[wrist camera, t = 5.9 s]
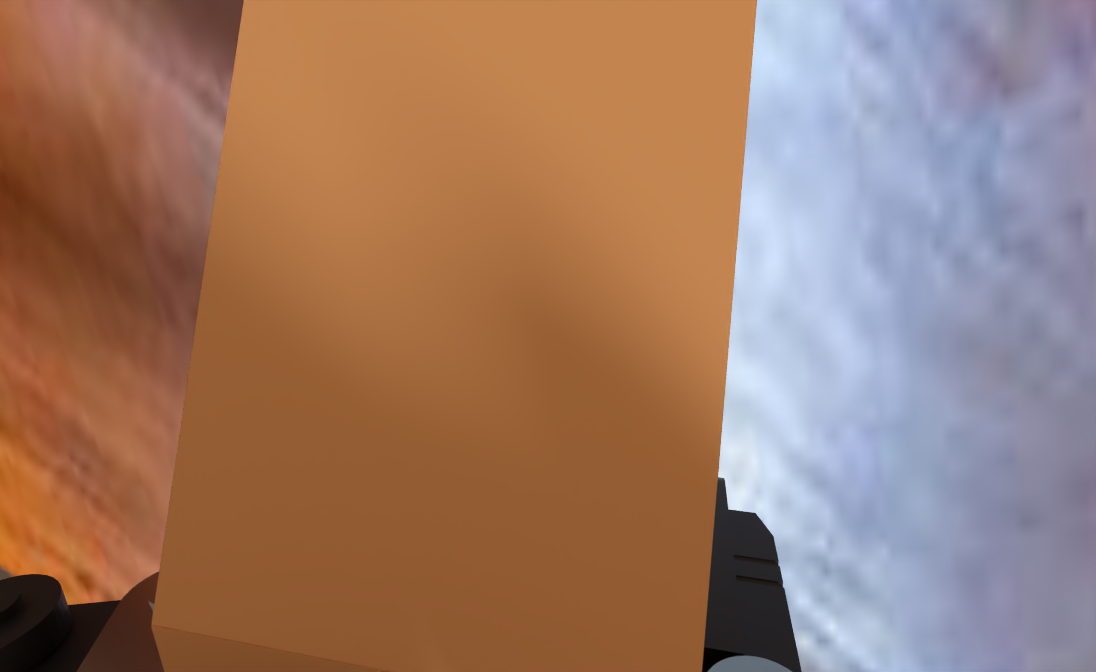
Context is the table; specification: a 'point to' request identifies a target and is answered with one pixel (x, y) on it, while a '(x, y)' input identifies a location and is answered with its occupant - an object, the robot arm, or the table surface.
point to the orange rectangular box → (461, 340)
